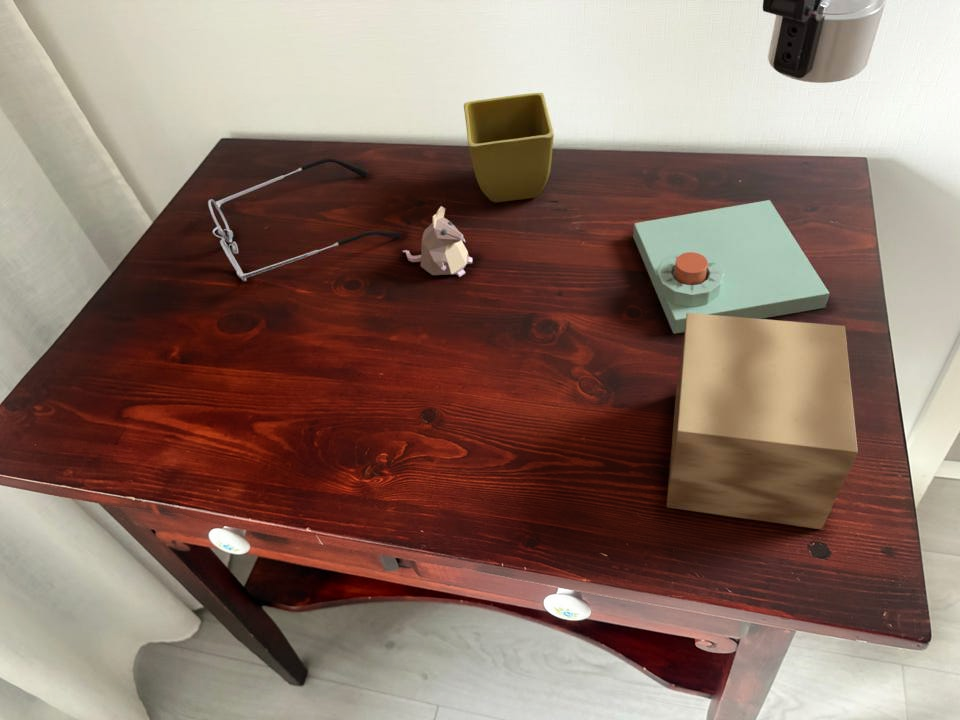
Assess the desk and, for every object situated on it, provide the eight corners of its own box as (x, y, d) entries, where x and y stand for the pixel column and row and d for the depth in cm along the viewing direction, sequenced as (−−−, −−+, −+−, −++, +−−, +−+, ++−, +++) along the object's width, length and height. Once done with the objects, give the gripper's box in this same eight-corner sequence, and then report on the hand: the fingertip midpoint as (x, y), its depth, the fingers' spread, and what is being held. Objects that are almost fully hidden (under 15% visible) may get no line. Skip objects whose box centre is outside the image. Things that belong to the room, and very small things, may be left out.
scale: (825, 308, 68) (834, 279, 66) (669, 335, 68) (672, 307, 66) (766, 214, 78) (772, 186, 75) (629, 238, 78) (631, 210, 75)
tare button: (710, 282, 68) (712, 270, 67) (679, 288, 68) (681, 275, 67) (700, 262, 70) (701, 249, 68) (670, 267, 70) (671, 255, 68)
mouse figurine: (414, 237, 82) (402, 185, 77) (479, 252, 79) (472, 200, 74) (390, 267, 79) (376, 216, 74) (457, 285, 76) (447, 233, 71)
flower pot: (547, 160, 88) (543, 90, 81) (557, 206, 82) (554, 134, 76) (473, 171, 88) (463, 101, 82) (478, 217, 83) (468, 146, 76)
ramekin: (885, 51, 48) (905, -14, 45) (836, 93, 46) (854, 28, 42) (798, 27, 51) (812, -35, 48) (749, 65, 49) (759, 2, 46)
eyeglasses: (214, 221, 88) (197, 186, 84) (364, 170, 91) (354, 133, 87) (240, 305, 78) (222, 269, 74) (408, 244, 81) (399, 206, 77)
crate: (814, 409, 61) (845, 325, 54) (821, 529, 54) (858, 452, 47) (675, 394, 64) (686, 312, 56) (666, 507, 57) (677, 430, 50)
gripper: (909, -246, 30) (814, 121, 43) (1052, -326, 36) (931, 19, 49) (745, -258, 34) (702, 82, 47) (897, -329, 40) (823, -9, 53)
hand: (819, 48), depth 48 cm, fingers closed on ramekin, 6 cm apart
